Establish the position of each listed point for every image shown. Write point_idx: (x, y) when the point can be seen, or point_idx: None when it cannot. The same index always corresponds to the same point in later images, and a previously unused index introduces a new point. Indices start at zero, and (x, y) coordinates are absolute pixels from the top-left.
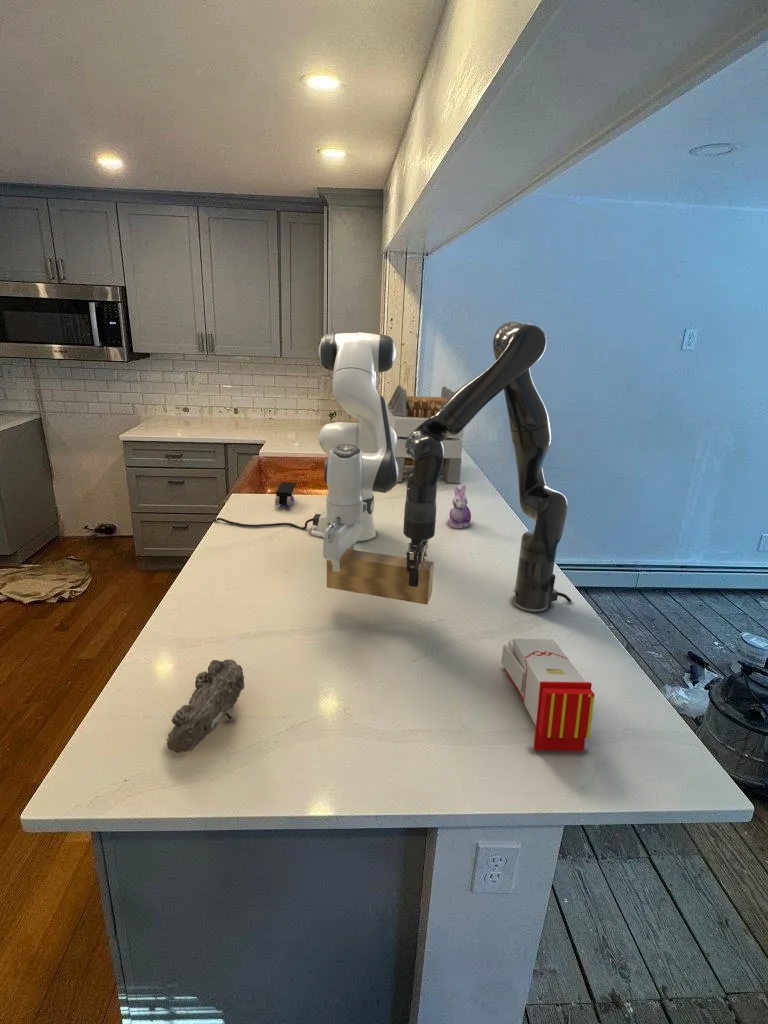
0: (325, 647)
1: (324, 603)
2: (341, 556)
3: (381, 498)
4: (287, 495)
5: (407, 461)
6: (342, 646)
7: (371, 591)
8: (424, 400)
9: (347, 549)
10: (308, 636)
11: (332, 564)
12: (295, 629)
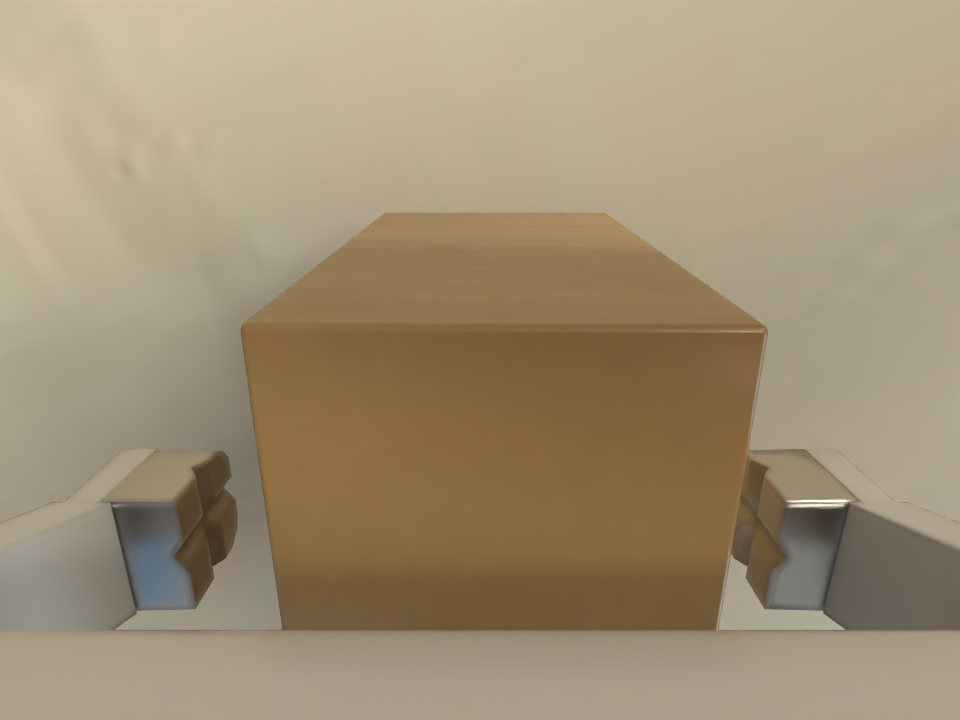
0: (26, 340)
1: (536, 120)
2: (298, 628)
3: None
4: None
5: None
6: (91, 425)
7: None
8: None
9: (679, 627)
10: (70, 191)
11: (40, 512)
12: (95, 59)
